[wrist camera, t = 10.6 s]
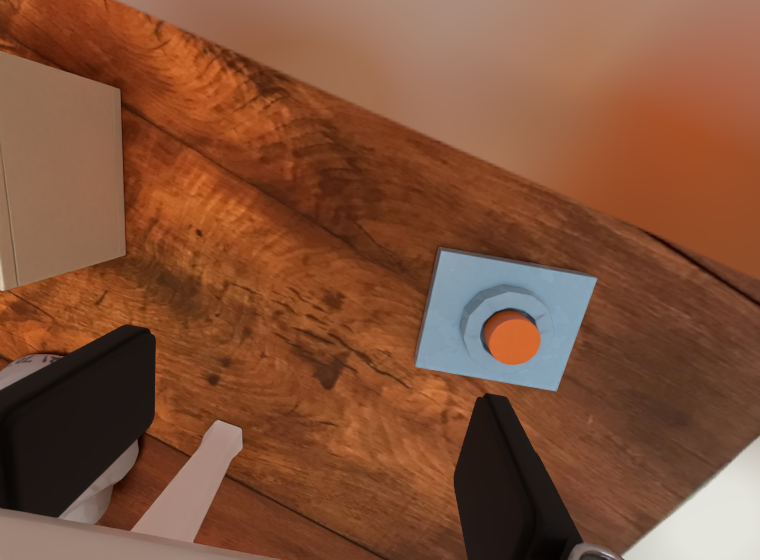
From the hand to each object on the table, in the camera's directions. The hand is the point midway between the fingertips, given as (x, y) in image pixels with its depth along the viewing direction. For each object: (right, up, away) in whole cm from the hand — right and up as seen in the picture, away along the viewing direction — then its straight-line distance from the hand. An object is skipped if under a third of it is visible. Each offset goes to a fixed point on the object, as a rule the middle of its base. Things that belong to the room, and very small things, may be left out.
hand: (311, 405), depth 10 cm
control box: (+12, +1, +20) cm, 23 cm away
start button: (+12, 0, +17) cm, 20 cm away
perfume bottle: (-13, -12, +24) cm, 30 cm away
